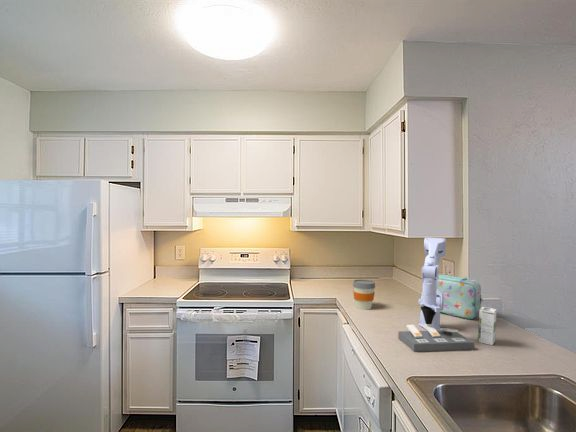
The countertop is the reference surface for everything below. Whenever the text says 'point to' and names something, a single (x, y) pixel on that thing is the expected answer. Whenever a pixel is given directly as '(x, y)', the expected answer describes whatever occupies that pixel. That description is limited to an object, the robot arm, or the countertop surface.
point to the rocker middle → (431, 330)
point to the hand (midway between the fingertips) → (428, 323)
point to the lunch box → (460, 296)
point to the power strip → (436, 341)
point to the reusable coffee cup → (363, 293)
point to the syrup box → (487, 325)
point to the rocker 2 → (449, 330)
